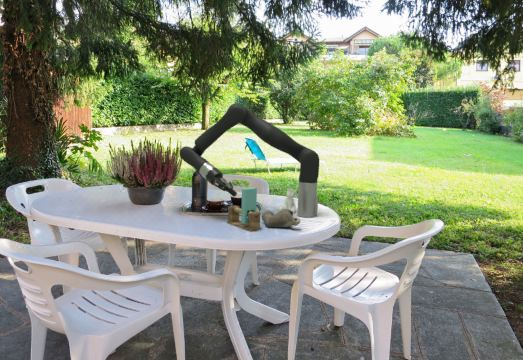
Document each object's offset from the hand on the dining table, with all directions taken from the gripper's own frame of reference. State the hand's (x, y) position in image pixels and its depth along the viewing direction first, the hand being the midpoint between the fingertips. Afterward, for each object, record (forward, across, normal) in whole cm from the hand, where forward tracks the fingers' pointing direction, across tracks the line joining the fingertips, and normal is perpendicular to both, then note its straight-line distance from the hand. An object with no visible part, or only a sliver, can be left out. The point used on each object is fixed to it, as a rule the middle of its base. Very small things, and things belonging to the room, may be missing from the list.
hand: (235, 194), depth 216 cm
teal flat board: (+15, +4, -4) cm, 16 cm away
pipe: (+25, -8, 0) cm, 26 cm away
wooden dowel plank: (+13, +2, -8) cm, 16 cm away
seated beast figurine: (+14, -35, 0) cm, 38 cm away
